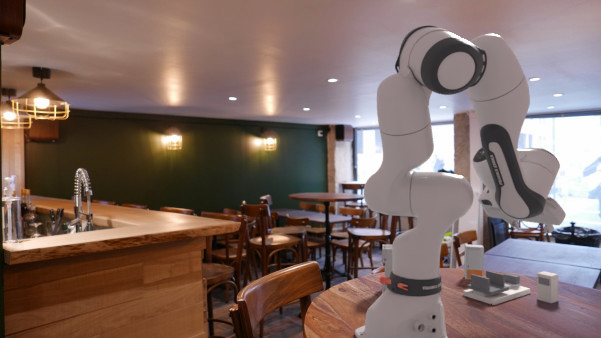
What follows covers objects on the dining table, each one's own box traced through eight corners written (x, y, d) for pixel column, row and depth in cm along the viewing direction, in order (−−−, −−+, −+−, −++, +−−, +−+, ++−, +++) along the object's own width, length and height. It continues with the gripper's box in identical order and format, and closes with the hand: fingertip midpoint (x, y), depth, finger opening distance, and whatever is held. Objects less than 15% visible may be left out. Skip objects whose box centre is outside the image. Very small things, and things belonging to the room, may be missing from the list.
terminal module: (551, 303, 113) (551, 276, 113) (536, 299, 116) (536, 273, 116) (558, 300, 115) (558, 274, 115) (543, 296, 118) (543, 271, 118)
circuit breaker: (430, 300, 115) (430, 251, 115) (382, 297, 118) (382, 248, 118) (427, 292, 122) (427, 245, 122) (381, 289, 125) (381, 244, 125)
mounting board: (493, 305, 111) (493, 300, 111) (463, 295, 120) (463, 290, 120) (530, 293, 122) (530, 288, 122) (499, 284, 130) (499, 280, 130)
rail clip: (490, 299, 112) (490, 280, 112) (466, 291, 119) (466, 273, 119) (527, 287, 123) (527, 270, 122) (502, 281, 129) (502, 265, 129)
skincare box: (465, 279, 136) (465, 246, 136) (464, 276, 140) (464, 243, 140) (484, 281, 134) (484, 247, 134) (482, 278, 138) (482, 244, 138)
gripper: (557, 187, 94) (578, 224, 99) (482, 184, 112) (503, 215, 117) (547, 206, 92) (569, 242, 97) (472, 200, 110) (494, 231, 115)
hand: (532, 228), depth 107 cm, fingers open, 8 cm apart
